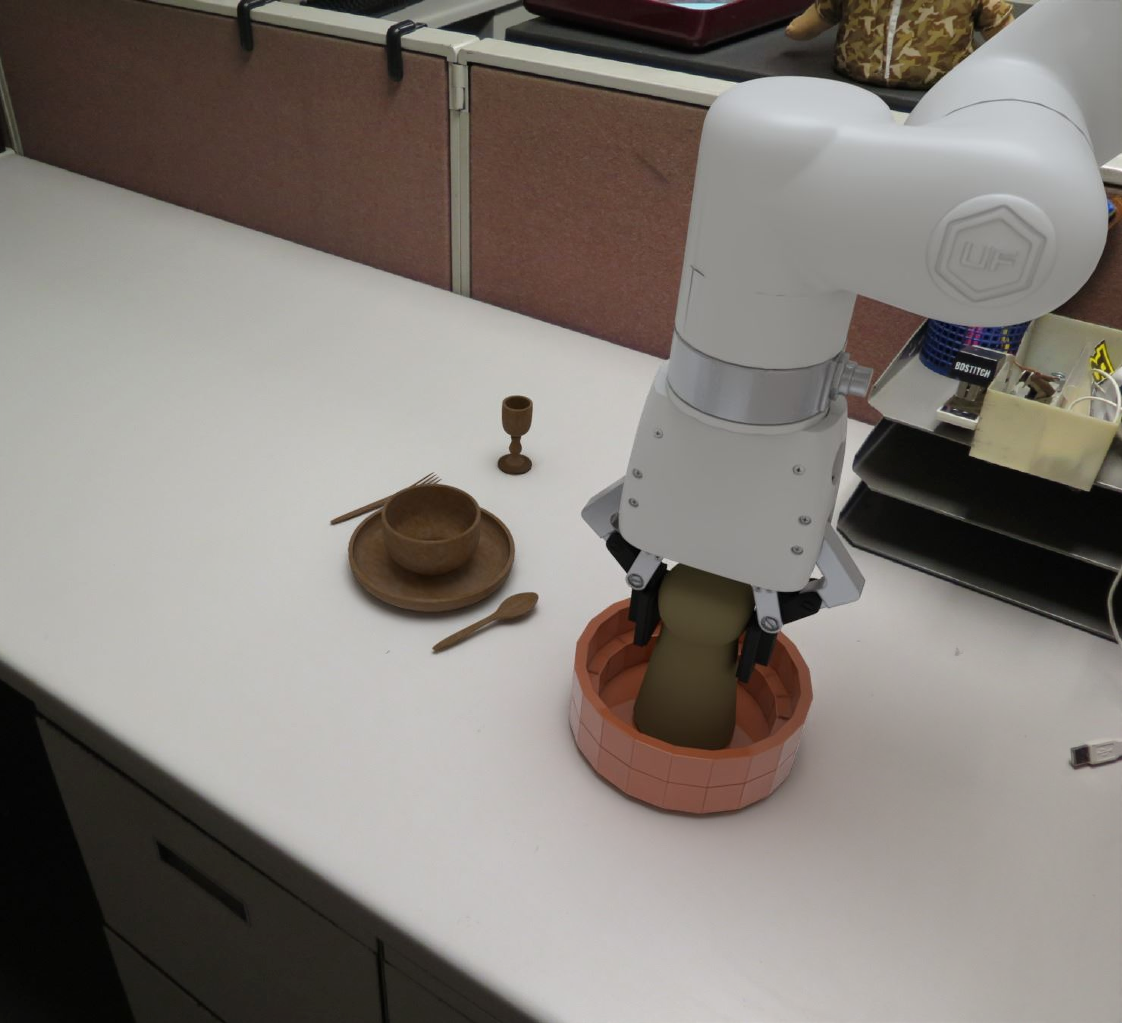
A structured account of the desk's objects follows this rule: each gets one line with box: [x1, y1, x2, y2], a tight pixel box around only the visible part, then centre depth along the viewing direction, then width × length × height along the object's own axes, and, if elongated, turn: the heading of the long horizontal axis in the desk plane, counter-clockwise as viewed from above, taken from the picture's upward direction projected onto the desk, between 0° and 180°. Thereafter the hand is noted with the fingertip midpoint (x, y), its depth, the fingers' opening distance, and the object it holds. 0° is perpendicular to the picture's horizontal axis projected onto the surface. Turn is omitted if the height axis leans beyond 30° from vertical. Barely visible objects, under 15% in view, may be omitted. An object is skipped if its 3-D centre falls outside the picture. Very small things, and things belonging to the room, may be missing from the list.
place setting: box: [330, 395, 540, 651], centre depth 76 cm, size 18×20×6 cm
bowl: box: [568, 596, 814, 814], centre depth 62 cm, size 13×13×5 cm
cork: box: [633, 562, 756, 751], centre depth 60 cm, size 6×6×11 cm
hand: (697, 646), depth 59 cm, fingers closed on cork, 5 cm apart
